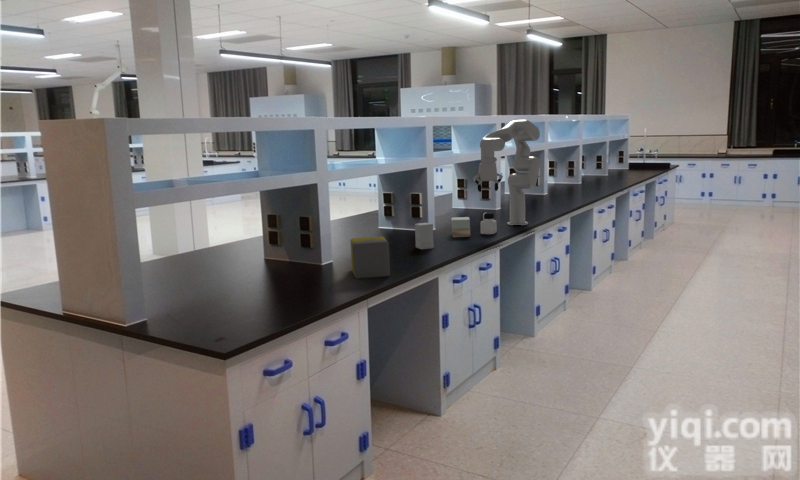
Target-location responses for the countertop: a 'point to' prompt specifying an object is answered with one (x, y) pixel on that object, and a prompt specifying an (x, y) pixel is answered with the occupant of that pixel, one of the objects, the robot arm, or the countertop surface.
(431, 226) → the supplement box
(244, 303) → the countertop surface
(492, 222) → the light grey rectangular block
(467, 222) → the tower top block
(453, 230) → the tower base block
